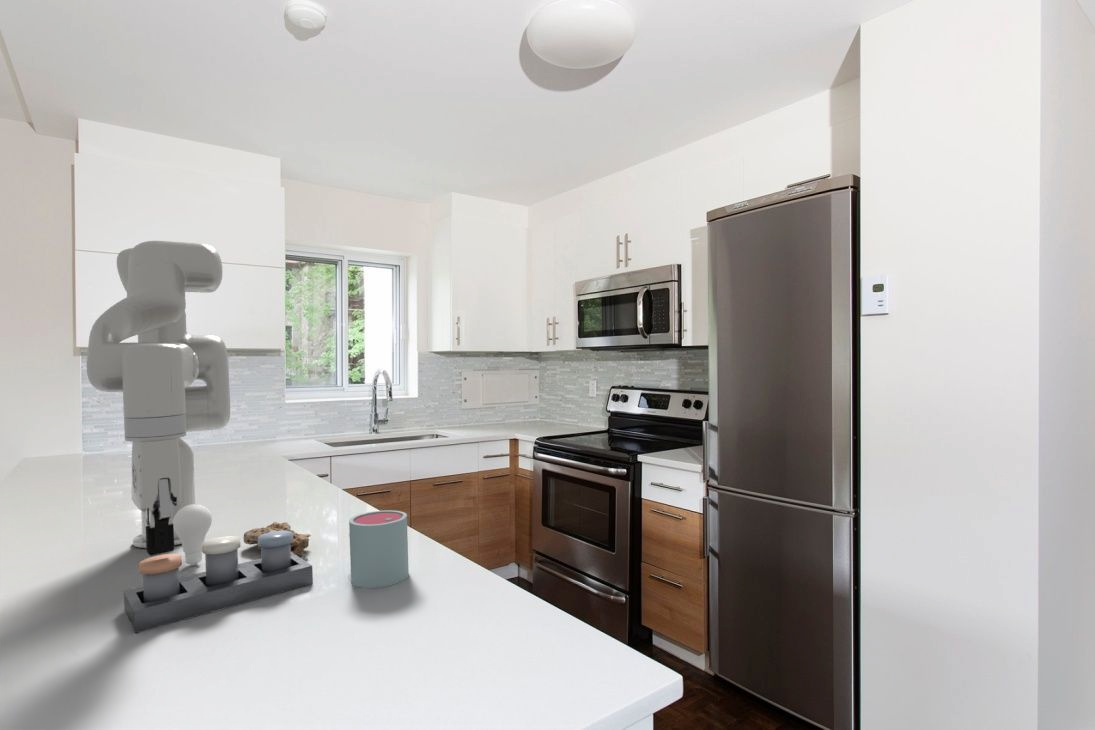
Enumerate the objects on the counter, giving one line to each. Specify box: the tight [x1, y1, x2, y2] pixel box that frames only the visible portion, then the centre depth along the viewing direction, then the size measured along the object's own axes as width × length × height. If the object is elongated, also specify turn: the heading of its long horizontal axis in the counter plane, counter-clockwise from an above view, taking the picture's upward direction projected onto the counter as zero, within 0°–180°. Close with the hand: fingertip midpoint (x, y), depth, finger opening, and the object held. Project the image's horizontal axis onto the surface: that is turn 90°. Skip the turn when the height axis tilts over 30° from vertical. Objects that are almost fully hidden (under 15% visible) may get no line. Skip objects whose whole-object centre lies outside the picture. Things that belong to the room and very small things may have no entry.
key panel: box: [123, 552, 314, 634], centre depth 92 cm, size 10×24×3 cm, turn 132°
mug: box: [348, 509, 409, 589], centre depth 100 cm, size 14×9×10 cm
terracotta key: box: [138, 553, 183, 603], centre depth 86 cm, size 5×5×6 cm
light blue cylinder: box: [257, 531, 293, 573], centre depth 97 cm, size 5×5×6 cm
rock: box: [242, 521, 312, 557], centre depth 115 cm, size 17×5×10 cm
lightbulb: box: [173, 503, 213, 567], centre depth 107 cm, size 6×6×11 cm
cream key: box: [202, 535, 241, 586], centre depth 92 cm, size 5×5×6 cm
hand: (160, 551), depth 87 cm, fingers closed
